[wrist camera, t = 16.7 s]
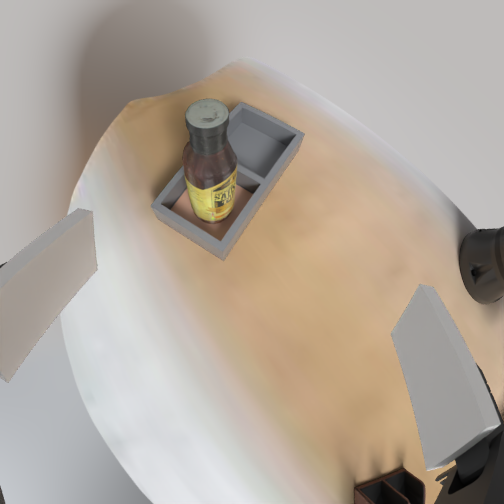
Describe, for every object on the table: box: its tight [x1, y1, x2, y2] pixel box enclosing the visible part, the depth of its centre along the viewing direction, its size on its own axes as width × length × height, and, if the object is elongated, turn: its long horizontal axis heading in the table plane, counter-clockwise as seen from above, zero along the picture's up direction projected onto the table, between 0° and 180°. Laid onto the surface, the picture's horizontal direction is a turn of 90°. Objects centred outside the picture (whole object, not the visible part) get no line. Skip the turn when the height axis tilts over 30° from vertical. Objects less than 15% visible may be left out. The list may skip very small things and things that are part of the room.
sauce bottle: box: [183, 99, 238, 224], centre depth 33 cm, size 7×6×20 cm
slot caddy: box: [151, 102, 305, 261], centre depth 43 cm, size 12×23×5 cm, turn 148°
